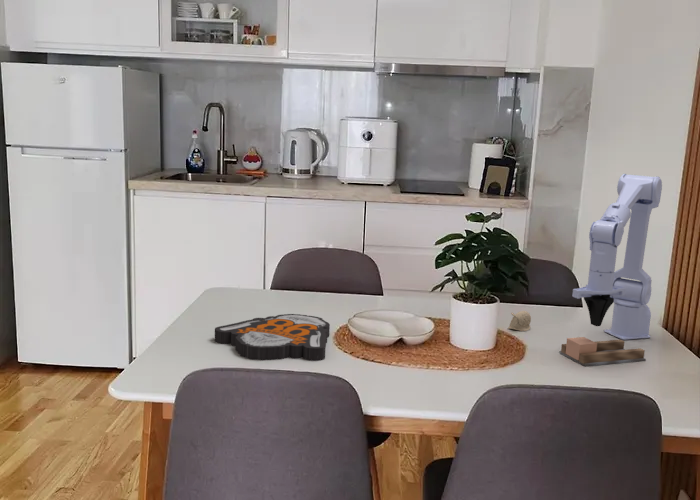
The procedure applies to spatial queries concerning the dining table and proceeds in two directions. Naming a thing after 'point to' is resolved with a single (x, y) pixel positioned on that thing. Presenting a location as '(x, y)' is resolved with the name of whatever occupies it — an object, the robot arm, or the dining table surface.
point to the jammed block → (579, 347)
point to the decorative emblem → (277, 337)
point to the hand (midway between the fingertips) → (595, 325)
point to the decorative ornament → (520, 321)
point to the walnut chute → (608, 354)
